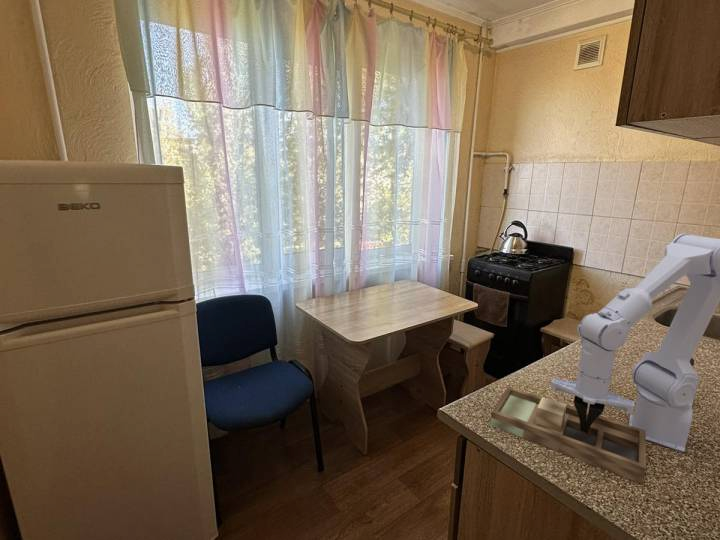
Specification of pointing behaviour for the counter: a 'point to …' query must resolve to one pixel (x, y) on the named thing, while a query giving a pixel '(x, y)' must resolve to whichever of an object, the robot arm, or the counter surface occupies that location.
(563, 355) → the counter surface
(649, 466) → the counter surface
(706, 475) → the counter surface
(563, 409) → the birch block
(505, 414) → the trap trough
